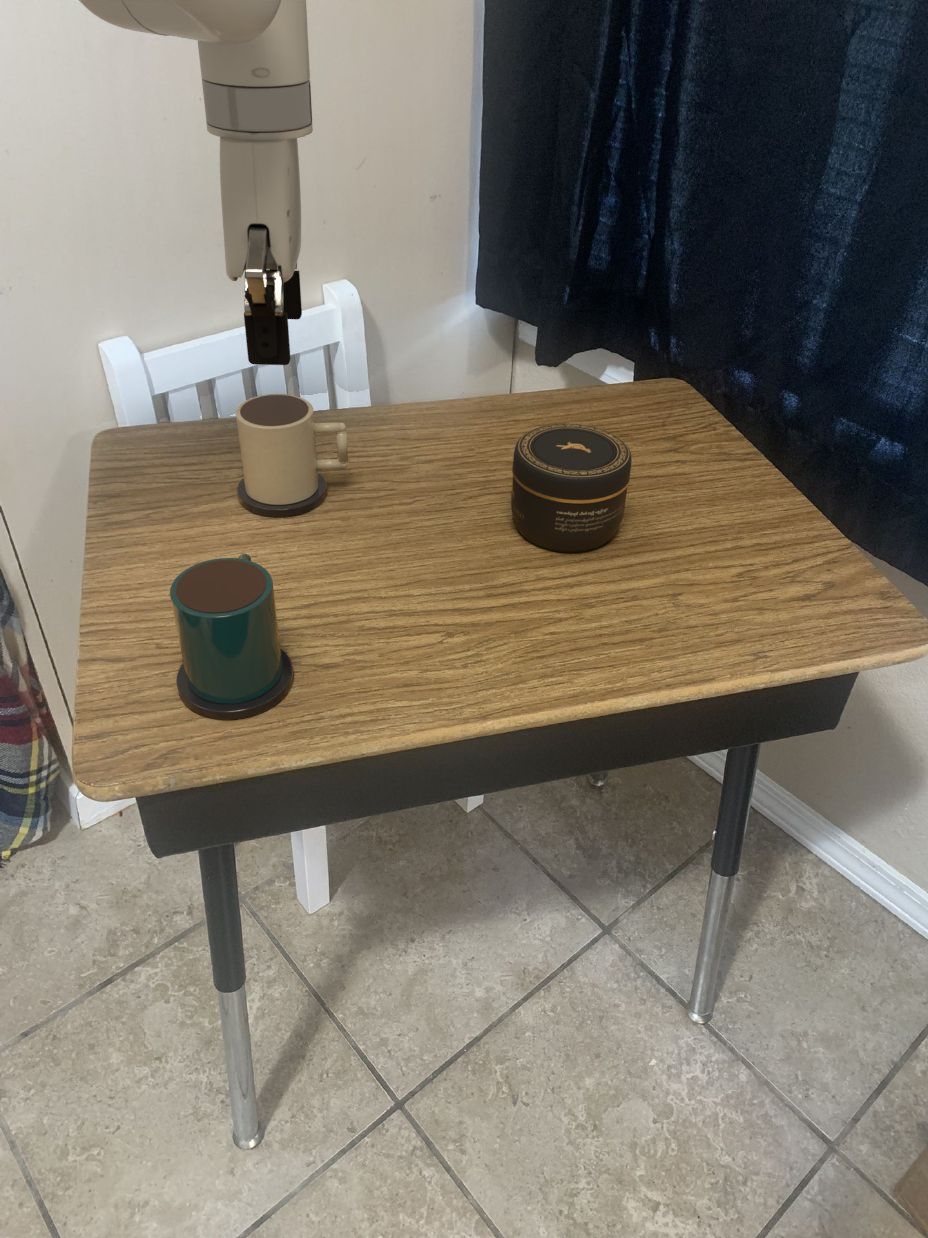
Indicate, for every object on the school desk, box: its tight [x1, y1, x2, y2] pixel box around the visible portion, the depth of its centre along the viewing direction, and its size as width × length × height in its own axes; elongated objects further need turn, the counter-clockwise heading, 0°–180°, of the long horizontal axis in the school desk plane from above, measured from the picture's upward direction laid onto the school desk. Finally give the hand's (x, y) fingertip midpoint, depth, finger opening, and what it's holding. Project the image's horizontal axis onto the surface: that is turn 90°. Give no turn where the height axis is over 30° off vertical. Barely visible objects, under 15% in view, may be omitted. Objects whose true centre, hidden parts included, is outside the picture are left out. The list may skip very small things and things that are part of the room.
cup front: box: [169, 553, 282, 704], centre depth 67 cm, size 9×7×8 cm
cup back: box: [235, 393, 349, 505], centre depth 86 cm, size 9×7×8 cm
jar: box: [510, 423, 632, 553], centre depth 84 cm, size 10×10×8 cm
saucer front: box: [175, 647, 294, 721], centre depth 69 cm, size 8×8×1 cm
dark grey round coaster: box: [236, 472, 328, 518], centre depth 89 cm, size 8×8×1 cm
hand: (276, 339), depth 80 cm, fingers open, 9 cm apart
